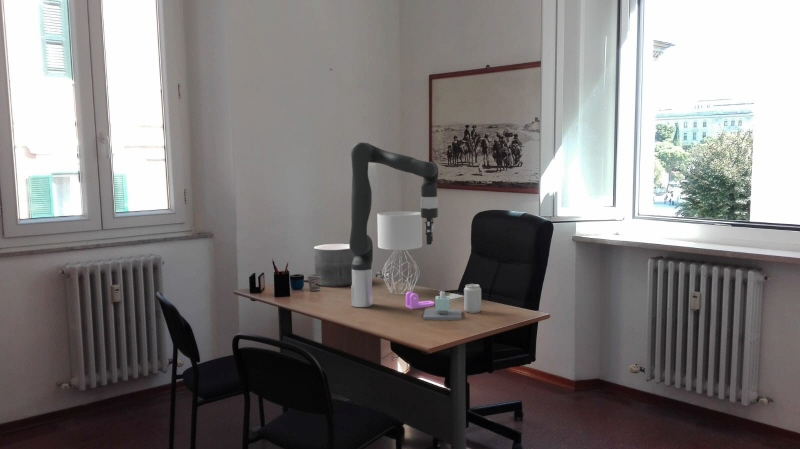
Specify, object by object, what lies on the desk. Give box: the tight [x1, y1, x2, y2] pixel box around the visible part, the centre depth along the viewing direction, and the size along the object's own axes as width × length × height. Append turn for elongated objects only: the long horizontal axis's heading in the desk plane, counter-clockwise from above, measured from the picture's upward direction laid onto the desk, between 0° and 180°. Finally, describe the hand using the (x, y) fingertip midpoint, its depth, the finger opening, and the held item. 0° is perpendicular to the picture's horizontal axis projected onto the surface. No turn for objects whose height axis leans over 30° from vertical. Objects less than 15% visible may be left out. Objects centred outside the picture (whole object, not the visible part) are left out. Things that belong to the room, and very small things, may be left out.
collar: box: [434, 295, 451, 311], centre depth 283 cm, size 6×6×5 cm
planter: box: [313, 243, 354, 288], centre depth 357 cm, size 22×22×20 cm
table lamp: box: [376, 210, 423, 295], centre depth 332 cm, size 22×22×40 cm
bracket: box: [405, 290, 435, 310], centre depth 302 cm, size 13×6×7 cm, turn 117°
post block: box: [422, 290, 462, 321], centre depth 283 cm, size 16×14×10 cm
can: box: [463, 283, 482, 314], centre depth 290 cm, size 8×8×12 cm
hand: (429, 243), depth 293 cm, fingers open, 8 cm apart
